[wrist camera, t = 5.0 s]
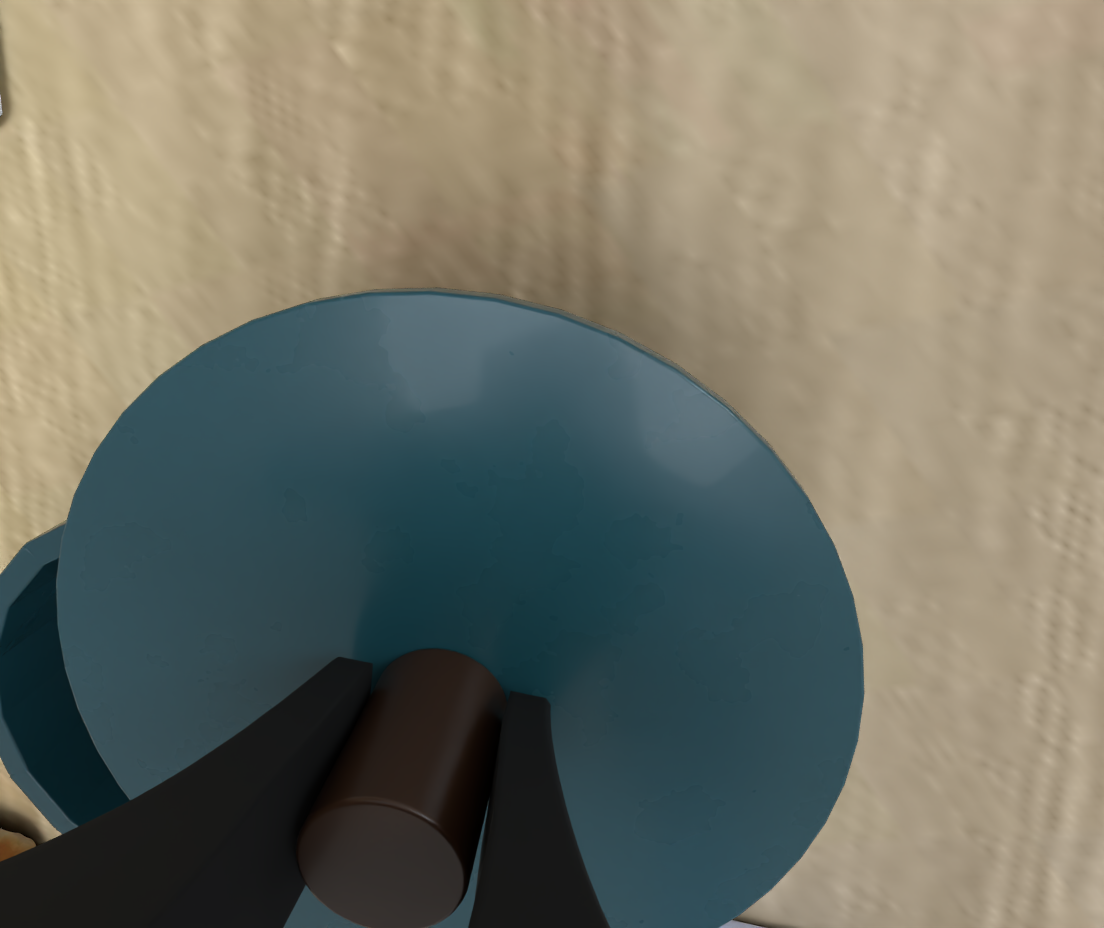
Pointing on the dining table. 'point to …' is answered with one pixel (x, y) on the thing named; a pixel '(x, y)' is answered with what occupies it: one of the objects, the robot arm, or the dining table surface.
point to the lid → (470, 599)
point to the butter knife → (0, 107)
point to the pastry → (13, 844)
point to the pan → (45, 698)
